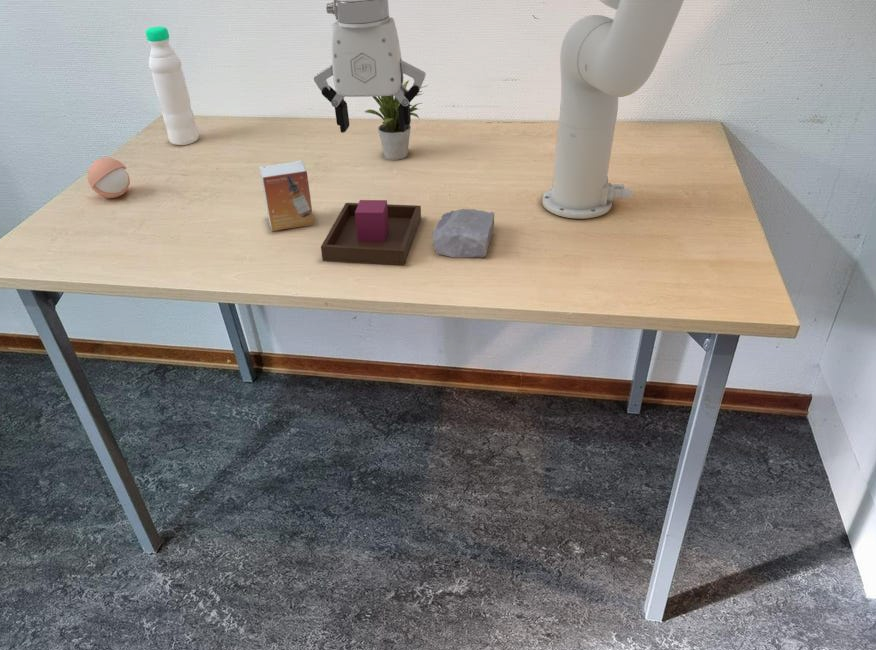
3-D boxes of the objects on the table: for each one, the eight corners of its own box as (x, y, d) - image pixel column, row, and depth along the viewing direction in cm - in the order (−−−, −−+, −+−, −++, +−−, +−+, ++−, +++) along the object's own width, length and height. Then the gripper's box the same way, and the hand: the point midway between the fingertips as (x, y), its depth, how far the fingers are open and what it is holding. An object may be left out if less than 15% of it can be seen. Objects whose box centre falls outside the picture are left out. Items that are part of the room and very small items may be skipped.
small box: (271, 232, 121) (261, 177, 114) (268, 219, 125) (257, 165, 118) (314, 225, 122) (307, 170, 115) (310, 212, 126) (302, 159, 120)
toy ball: (111, 207, 133) (97, 169, 128) (87, 199, 136) (73, 162, 131) (142, 192, 138) (131, 155, 133) (118, 185, 141) (106, 148, 136)
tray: (421, 219, 122) (420, 205, 120) (404, 265, 109) (403, 250, 107) (347, 216, 124) (345, 202, 122) (322, 261, 112) (320, 246, 110)
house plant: (424, 171, 139) (422, 90, 129) (360, 170, 141) (352, 91, 131) (432, 145, 150) (431, 69, 139) (372, 145, 152) (367, 70, 142)
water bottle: (169, 138, 162) (139, 26, 147) (198, 133, 164) (171, 22, 148) (170, 148, 157) (139, 33, 141) (200, 143, 158) (172, 29, 143)
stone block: (432, 265, 112) (491, 258, 109) (426, 239, 109) (486, 232, 106) (444, 234, 121) (498, 227, 118) (438, 210, 119) (493, 202, 115)
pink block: (388, 229, 118) (386, 200, 115) (385, 242, 114) (382, 212, 111) (362, 228, 119) (359, 199, 115) (357, 241, 115) (354, 212, 111)
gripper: (297, 19, 94) (316, 138, 104) (417, 14, 90) (424, 137, 101) (312, 7, 99) (328, 121, 110) (426, 2, 96) (431, 120, 107)
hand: (374, 129), depth 106 cm, fingers open, 9 cm apart
